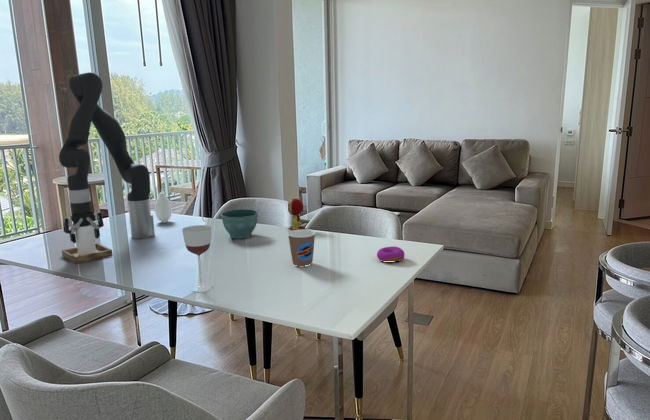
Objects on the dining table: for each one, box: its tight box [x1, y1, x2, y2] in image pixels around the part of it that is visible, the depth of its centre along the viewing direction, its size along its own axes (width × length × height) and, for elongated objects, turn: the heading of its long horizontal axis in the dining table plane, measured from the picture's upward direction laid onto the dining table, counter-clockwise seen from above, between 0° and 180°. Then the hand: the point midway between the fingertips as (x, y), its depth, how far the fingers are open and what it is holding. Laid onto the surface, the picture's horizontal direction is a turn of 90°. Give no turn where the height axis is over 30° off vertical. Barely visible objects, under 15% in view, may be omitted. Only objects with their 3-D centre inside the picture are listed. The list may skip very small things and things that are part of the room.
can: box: [75, 224, 96, 256], centre depth 191 cm, size 6×6×12 cm
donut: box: [376, 245, 406, 261], centre depth 179 cm, size 10×10×4 cm
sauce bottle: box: [154, 187, 173, 224], centre depth 245 cm, size 8×8×18 cm
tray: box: [61, 242, 114, 265], centre depth 192 cm, size 14×15×2 cm
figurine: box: [286, 198, 308, 232], centre depth 224 cm, size 9×10×15 cm
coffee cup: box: [287, 228, 317, 266], centre depth 176 cm, size 10×10×12 cm
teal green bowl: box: [220, 208, 259, 239], centre depth 216 cm, size 16×16×11 cm
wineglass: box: [181, 224, 212, 287], centre depth 153 cm, size 8×9×20 cm
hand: (85, 240), depth 191 cm, fingers open, 8 cm apart
